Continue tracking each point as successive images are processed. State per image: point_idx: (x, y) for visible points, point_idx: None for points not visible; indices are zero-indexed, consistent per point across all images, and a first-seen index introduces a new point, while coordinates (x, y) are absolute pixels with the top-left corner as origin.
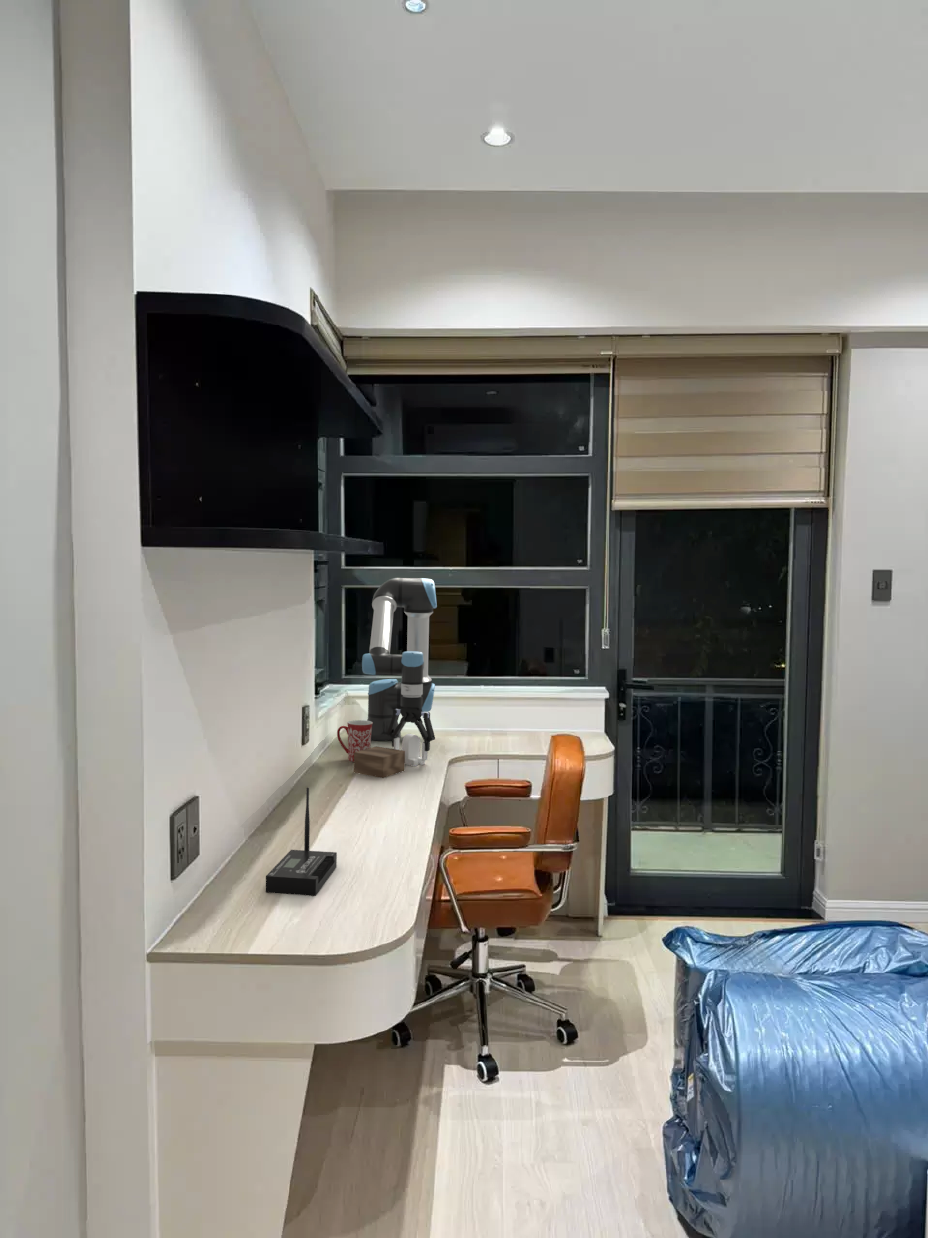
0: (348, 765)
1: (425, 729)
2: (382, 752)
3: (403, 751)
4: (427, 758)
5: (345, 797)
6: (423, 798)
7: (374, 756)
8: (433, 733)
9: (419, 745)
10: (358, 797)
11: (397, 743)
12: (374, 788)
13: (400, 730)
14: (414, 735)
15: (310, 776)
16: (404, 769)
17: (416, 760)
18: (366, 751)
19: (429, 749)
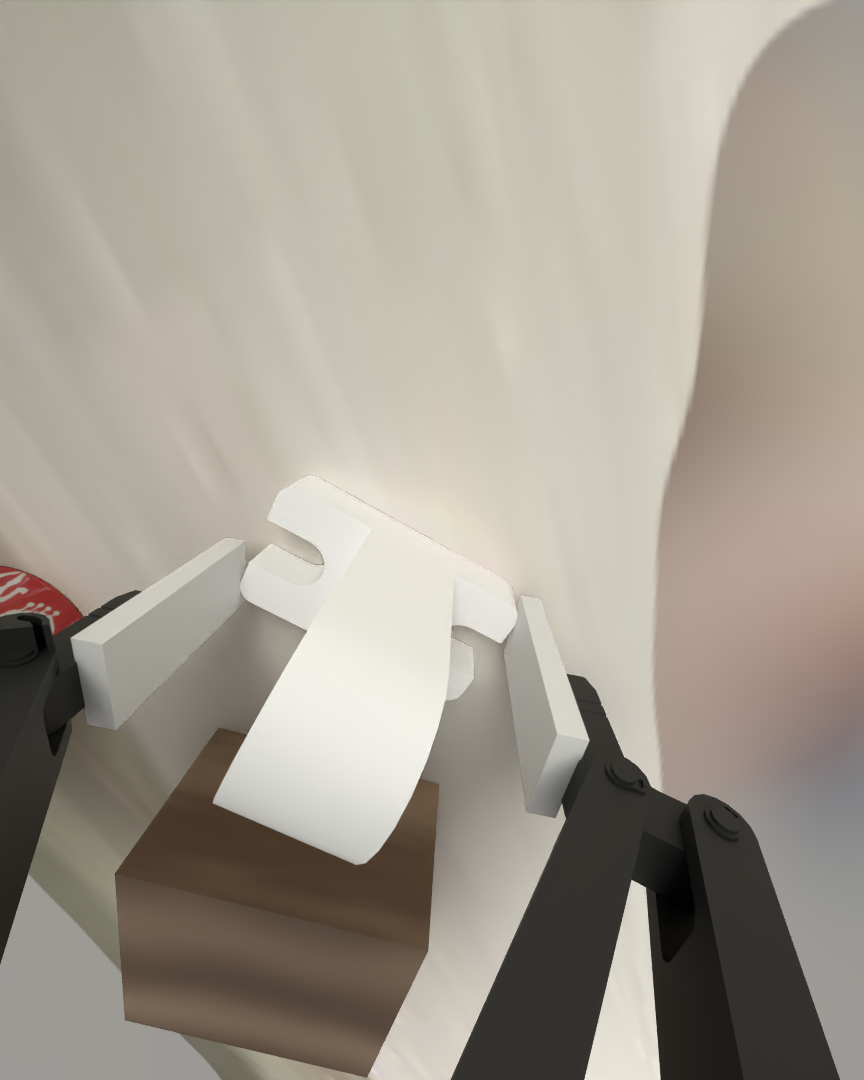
0: (77, 756)
1: (603, 987)
2: (290, 1002)
3: (422, 960)
4: (542, 606)
5: (382, 1076)
6: (655, 1068)
7: (297, 1055)
8: (779, 946)
9: (446, 647)
10: (422, 1074)
11: (163, 647)
12: (427, 1010)
13: (15, 783)
14: (379, 845)
15: (94, 932)
16: (437, 793)
17: (466, 684)
18: (173, 997)
19: (593, 693)
